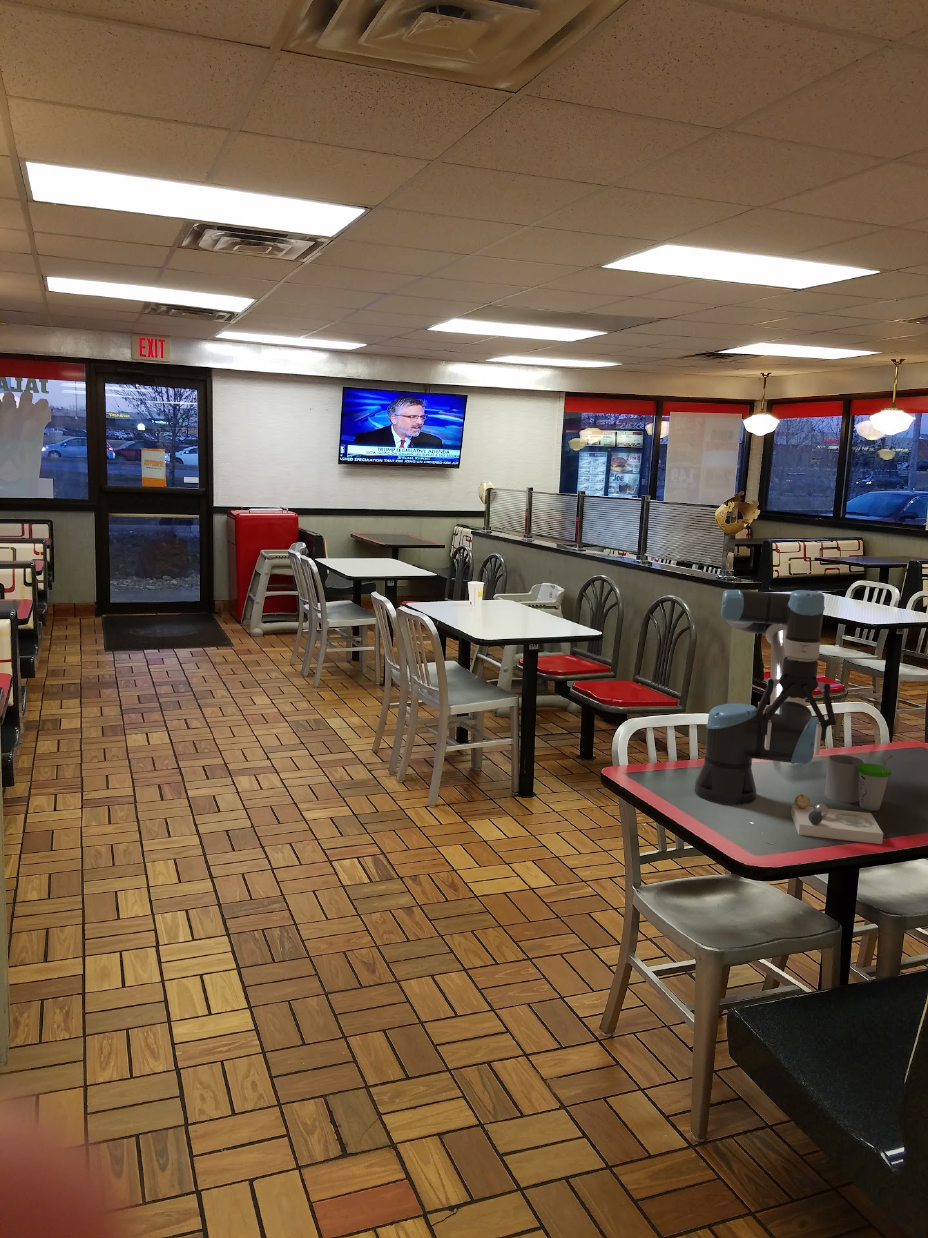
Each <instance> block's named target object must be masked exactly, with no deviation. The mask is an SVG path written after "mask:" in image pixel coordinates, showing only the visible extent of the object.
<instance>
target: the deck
mask: <svg viewBox="0 0 928 1238" xmlns="http://www.w3.org/2000/svg"><path fill="white" fill-rule="evenodd" d="M814 807H815V806H808V807H807V808H804V809H802V808H799V807H798V806H797V805H796V804H791V811H790V816H791V817H792V821H793V823H794V826H795V829H796V832H797V834H798V835H800V836H808V837H815V838H825V839H834V840H842V841H851V842H859V843H868V844H869V843H870V844H878V845H883V839H884V832H883V830H882V829H881V828H880V826H879V824H878V823H877V820H876V819H875V817H874V816H873V814H872V813H871V812H862V811H855V810H854V811H853V810H844V809H835V808H834V809H833V808H828V814H827V815H826V816H825V817H822V821H821V822H820V823H819V824H813V823H811V822H810V821H809V818H808V816H809V814H810V813H811V812H812V811H814Z"/></svg>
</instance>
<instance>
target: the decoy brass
mask: <svg viewBox="0 0 928 1238" xmlns="http://www.w3.org/2000/svg"><path fill="white" fill-rule="evenodd" d="M810 804H811V801H810V798H809V797H808V795H806V794H804V793H803V794H802V793H799V794H798V795H797V796H796V797H795V799H794V805H797V806H798V807H799V808H802V809H804V808H807V807H810Z"/></svg>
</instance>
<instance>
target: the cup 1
mask: <svg viewBox="0 0 928 1238" xmlns="http://www.w3.org/2000/svg"><path fill="white" fill-rule="evenodd" d="M827 757H828V758H827V769H826V777H825V785H824V796H825V797H826V798H828V799H830V800H832V801H835V802H840V803H844V804H845V803H848V804H850V803H851V804H853V803H857V802H859V772H858V770H857V765H859V764H865V763H864V760H862V759H860V758H859V757H855V756H851V755H845V754H831V755H829V756H827Z"/></svg>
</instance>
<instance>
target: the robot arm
mask: <svg viewBox="0 0 928 1238" xmlns="http://www.w3.org/2000/svg"><path fill="white" fill-rule="evenodd" d="M721 597H722V599H721V611H720V614H721V615H720V617H721V619H723V620H724V621H725V623H727V624H728V625H729V626H730V627H733V628H735V629H737V630H740V631H743V632H747V633H752V634H760V635H765V639H766V642H768V644H770V647H771V648H770V677H769V676H768V677H767V679H766V687H765V689H764V691H763V694H762V696H761V698H760V701H759V703H758V705H757V707H756V706H755V705H752V704H746V703H737V702H736V703H735V702H734V703H723V704H719V705H716V706H714V707H712V708H711V709H710V710H709V713H708V716H707V717H708V719H707V723H706V730H707V731H706V739H705V748H704V749H705V750H704V759H703V765H702V766H701V767H700V768H701V769H700V771H699V773H698V775H697V778H696V779H695V783H694V792H696V793H695V794H696V795H697V796H699V797H701V798H703V799H705V800H707V801H710V802H714V803H719V804H722V805H723V804H725V805H737V806H738V805H747V804H751V803H753V802H754V801H756V797H757V788H756V784H755V780H754V775H753V770H752V762H753V759H754V760H755V759H756V760H763V761H772V762H780V763H790V764H793V765H795V764H799V765H800V764H801V765H802V764H803V765H807V764H809V763H811V761H812V760H813V756H814V755H820V750H821V741H825V740H826V738H827V731H828V730H827V729H828V727H830V726H835V725H836V724H837V722H836V717H835V713H834V708H833V703H832V700H831V699H832V698H831V695H830V692H831V685H830V683H829V682H828V681H824V682H820V681H818V679H817V676H818V668H819V667H818V666H819V661H818V659H819V658H820V646H821V636H822V635H821V634H822V627H823V621H824V620H823V619H824V611H825V610H826V609H825V608H826V607H825V595H824V594H823V593H822V592H819V591H814V590H808V589H807V590H806V589H799V590H797V589H796V590H793V591H791V593H785V592H783V593H782V592H768V591H767V592H765V591H755V590H740V589H725V590H724V591H723V593H722V596H721ZM817 688H818V689H819V691H820V692H821V694H822V697H823V702H824V706H825V710H826V711H825V712H826V714H827V719H825V717H824V715H823V713H822V711H821V709H820V707H819V705H818V704H817V702H816V699H815V698H814V696H813V692H815V690H816V689H817ZM806 699H807V700H808V703H809V704H810V706H811V708H812V710H813V712H814V714H815V715H816V717H813V713H812V710H811V709H810V708H809V707H808V706H807V705H806ZM768 703H770V704H769V705H768Z"/></svg>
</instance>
